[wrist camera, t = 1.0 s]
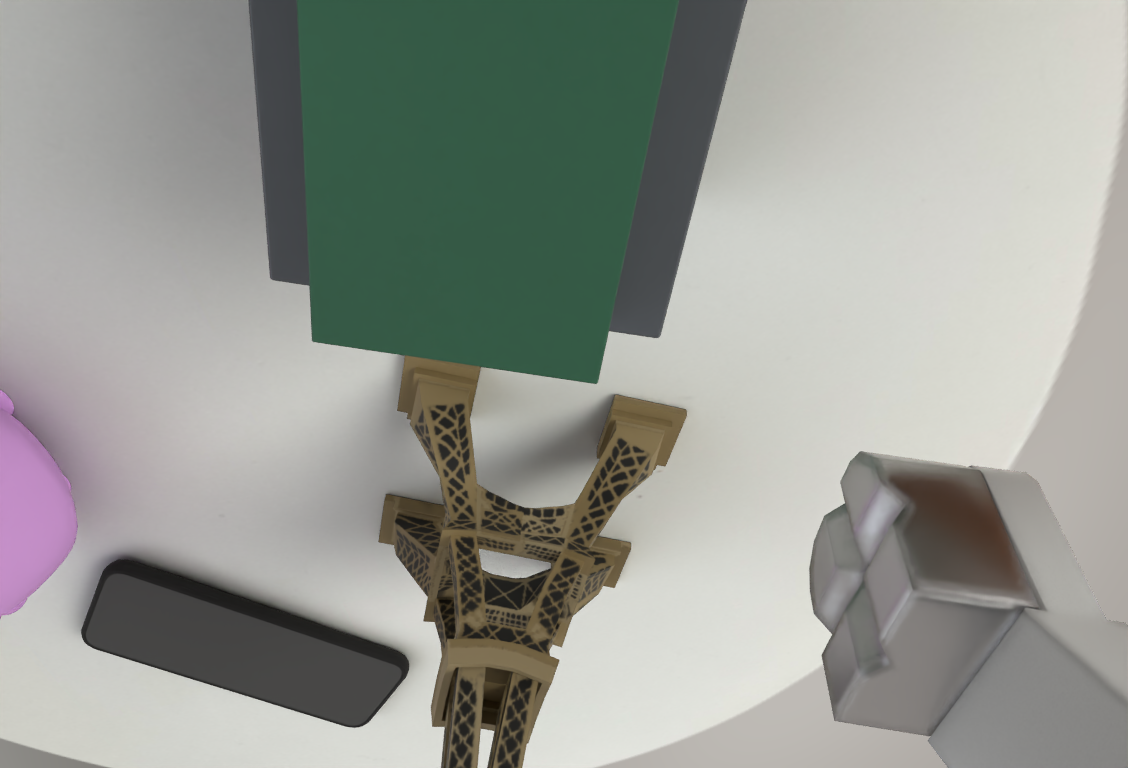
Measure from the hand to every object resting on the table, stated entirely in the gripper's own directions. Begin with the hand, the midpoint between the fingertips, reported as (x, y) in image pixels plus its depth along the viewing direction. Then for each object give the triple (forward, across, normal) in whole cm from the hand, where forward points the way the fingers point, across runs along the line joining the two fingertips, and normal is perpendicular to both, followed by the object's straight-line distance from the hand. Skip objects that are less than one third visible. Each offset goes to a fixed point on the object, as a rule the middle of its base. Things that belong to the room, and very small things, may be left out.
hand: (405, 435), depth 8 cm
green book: (+12, +1, 0) cm, 13 cm away
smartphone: (+20, +11, +34) cm, 41 cm away
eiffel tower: (+20, -1, +20) cm, 29 cm away
